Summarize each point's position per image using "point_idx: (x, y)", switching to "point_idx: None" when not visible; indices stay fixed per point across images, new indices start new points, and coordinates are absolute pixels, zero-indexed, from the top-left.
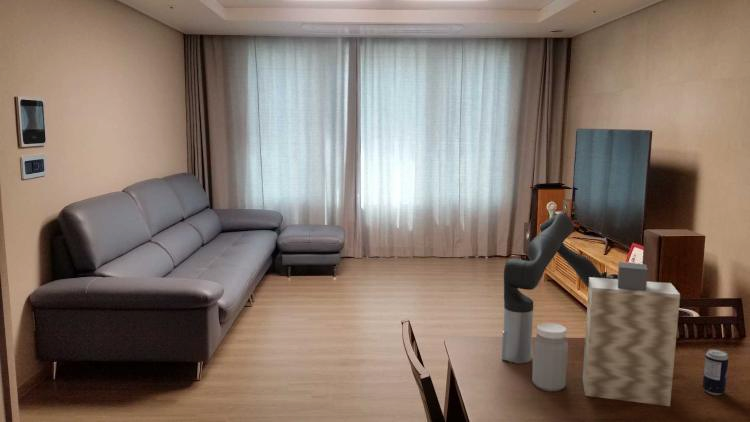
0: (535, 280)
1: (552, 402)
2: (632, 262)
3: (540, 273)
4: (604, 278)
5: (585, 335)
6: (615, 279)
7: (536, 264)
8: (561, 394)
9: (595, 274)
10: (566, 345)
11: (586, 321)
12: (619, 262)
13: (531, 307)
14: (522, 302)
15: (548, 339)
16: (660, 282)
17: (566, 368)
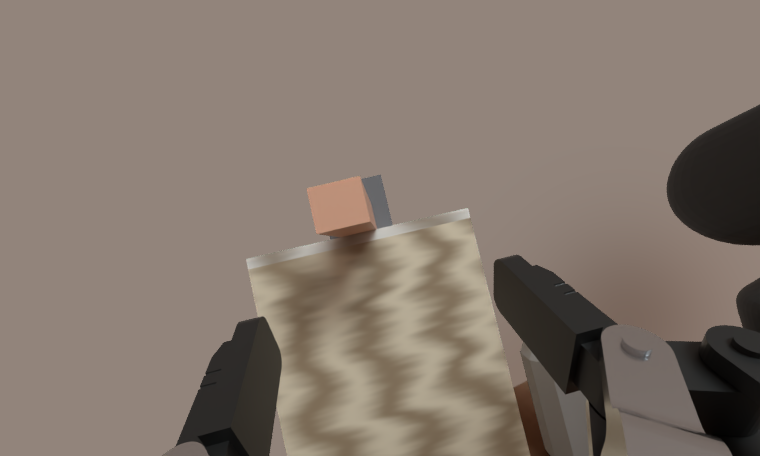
0: (673, 203)
1: (533, 411)
2: (319, 185)
3: (717, 181)
4: (427, 217)
5: (512, 387)
6: (397, 224)
7: (698, 140)
8: (539, 438)
9: (732, 328)
10: (522, 348)
11: (499, 340)
12: (379, 175)
13: (747, 319)
14: (750, 284)
15: None
16: (276, 252)
17: (540, 416)
